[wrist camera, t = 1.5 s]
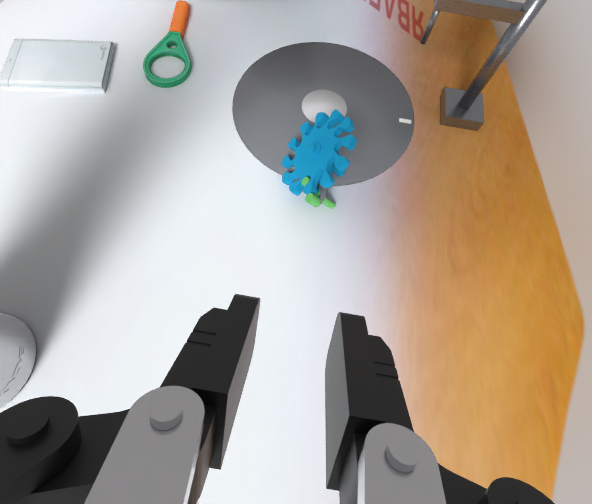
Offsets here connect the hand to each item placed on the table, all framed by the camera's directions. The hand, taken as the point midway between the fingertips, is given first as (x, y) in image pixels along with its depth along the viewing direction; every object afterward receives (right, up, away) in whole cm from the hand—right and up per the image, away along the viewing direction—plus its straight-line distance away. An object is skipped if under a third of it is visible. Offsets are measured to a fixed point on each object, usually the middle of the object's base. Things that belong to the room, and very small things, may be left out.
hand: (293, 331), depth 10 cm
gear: (+2, +11, +30) cm, 32 cm away
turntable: (+4, +21, +35) cm, 41 cm away
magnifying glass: (-17, +31, +37) cm, 51 cm away
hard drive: (-31, +26, +35) cm, 53 cm away
